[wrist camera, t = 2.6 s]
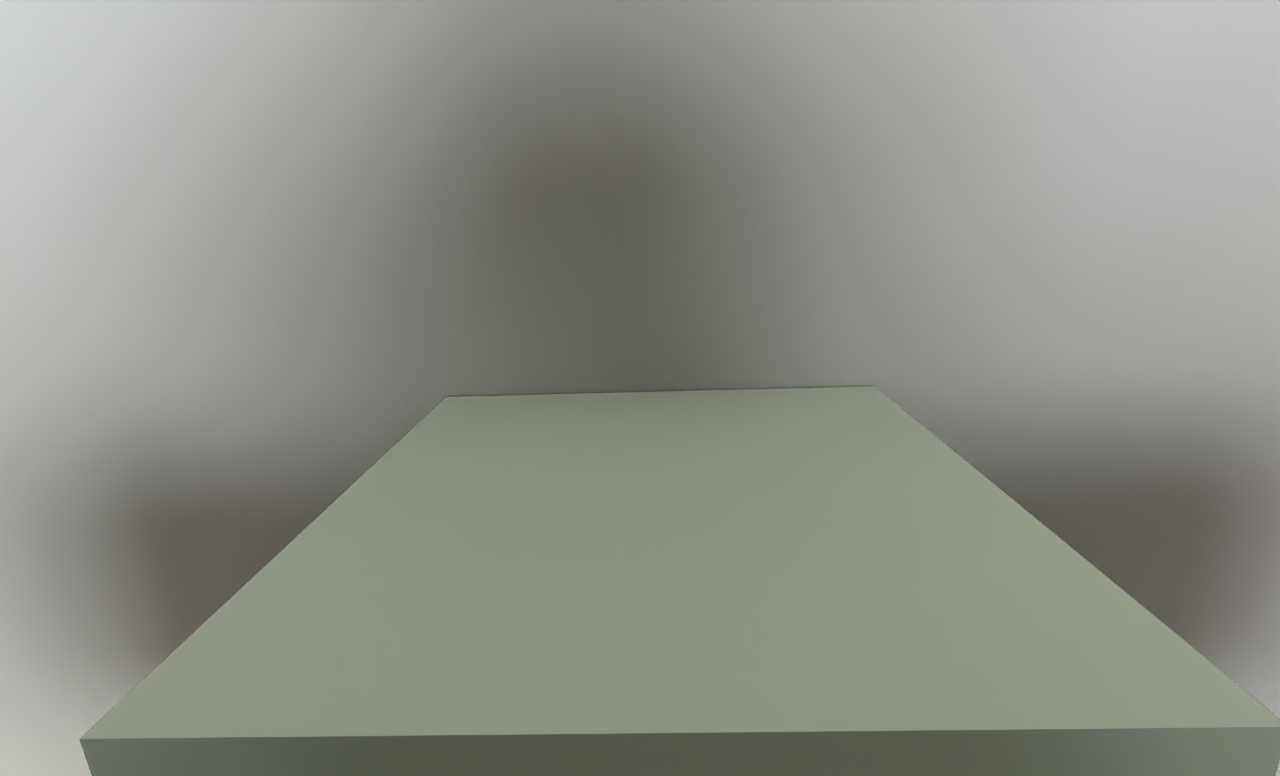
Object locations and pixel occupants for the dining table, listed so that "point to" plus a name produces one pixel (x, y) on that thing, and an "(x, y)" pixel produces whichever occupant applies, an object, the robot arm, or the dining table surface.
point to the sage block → (681, 614)
